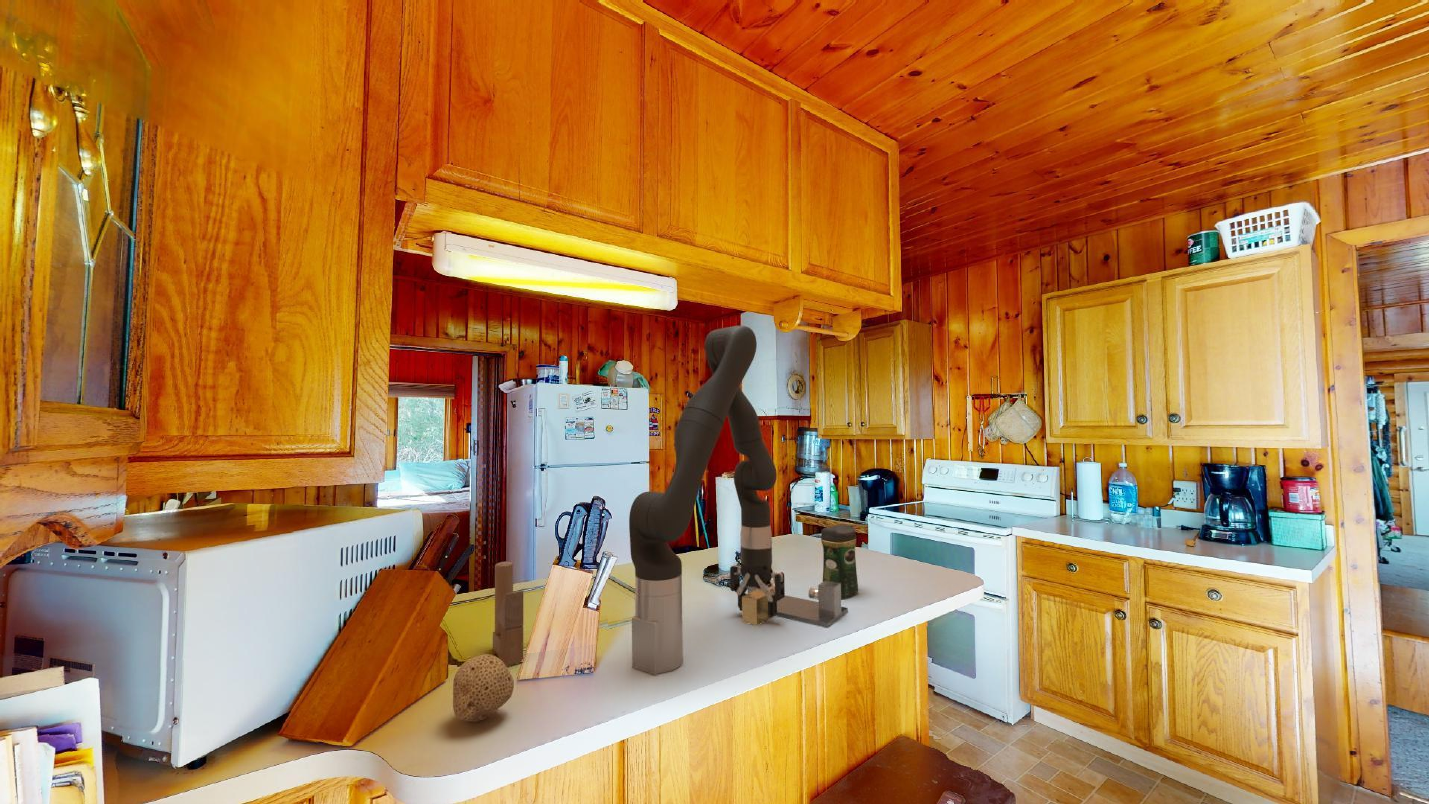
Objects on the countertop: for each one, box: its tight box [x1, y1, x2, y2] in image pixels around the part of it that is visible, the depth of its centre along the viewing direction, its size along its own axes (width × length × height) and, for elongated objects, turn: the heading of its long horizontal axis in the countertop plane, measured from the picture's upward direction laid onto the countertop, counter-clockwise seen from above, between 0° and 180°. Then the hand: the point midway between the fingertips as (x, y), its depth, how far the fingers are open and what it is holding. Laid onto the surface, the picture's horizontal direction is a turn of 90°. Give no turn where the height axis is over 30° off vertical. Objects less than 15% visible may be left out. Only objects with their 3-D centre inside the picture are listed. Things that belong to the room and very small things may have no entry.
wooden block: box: [492, 561, 524, 668], centre depth 109 cm, size 4×11×18 cm, turn 35°
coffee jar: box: [820, 523, 859, 599], centre depth 145 cm, size 10×8×19 cm
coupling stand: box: [747, 580, 849, 628], centre depth 133 cm, size 12×24×8 cm, turn 54°
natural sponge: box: [452, 653, 515, 723], centre depth 85 cm, size 9×9×10 cm
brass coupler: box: [741, 589, 770, 627], centre depth 127 cm, size 4×7×6 cm, turn 144°
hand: (757, 613), depth 127 cm, fingers open, 7 cm apart
